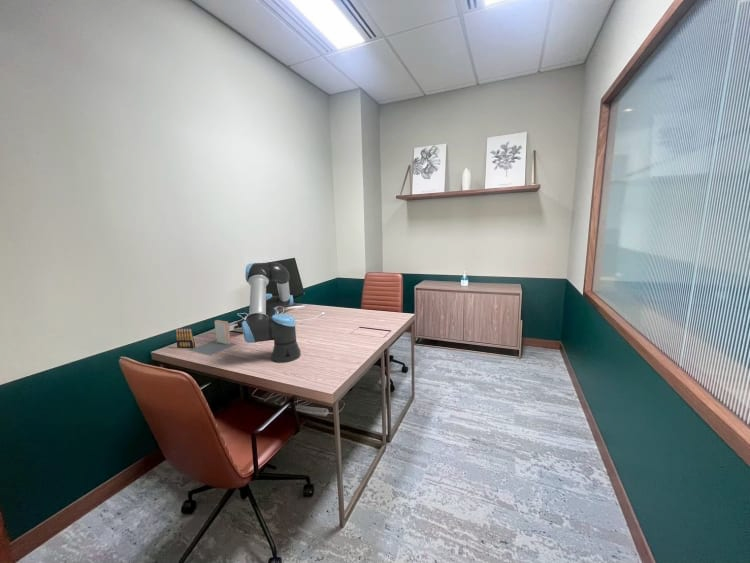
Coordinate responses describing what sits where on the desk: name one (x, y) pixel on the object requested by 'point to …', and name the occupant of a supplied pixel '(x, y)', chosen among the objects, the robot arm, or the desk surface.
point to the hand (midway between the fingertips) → (228, 328)
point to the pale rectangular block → (222, 332)
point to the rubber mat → (211, 347)
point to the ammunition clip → (185, 339)
